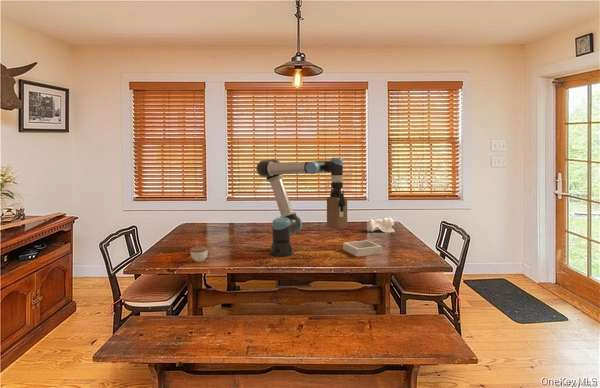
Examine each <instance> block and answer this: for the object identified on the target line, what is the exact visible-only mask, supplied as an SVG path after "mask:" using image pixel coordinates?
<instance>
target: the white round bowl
mask: <svg viewBox="0 0 600 388" xmlns="http://www.w3.org/2000/svg"><path fill="white" fill-rule="evenodd" d="M189 250H190V256H191V259H192V260H193V261H194V262H197V263H200V262H201V263H202V262H203V261H205V260H206V259H207V257H208V255H209V253H208V252H209V248H208V247H207V246H201V245H197V246H194V247H190V249H189Z"/></svg>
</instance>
